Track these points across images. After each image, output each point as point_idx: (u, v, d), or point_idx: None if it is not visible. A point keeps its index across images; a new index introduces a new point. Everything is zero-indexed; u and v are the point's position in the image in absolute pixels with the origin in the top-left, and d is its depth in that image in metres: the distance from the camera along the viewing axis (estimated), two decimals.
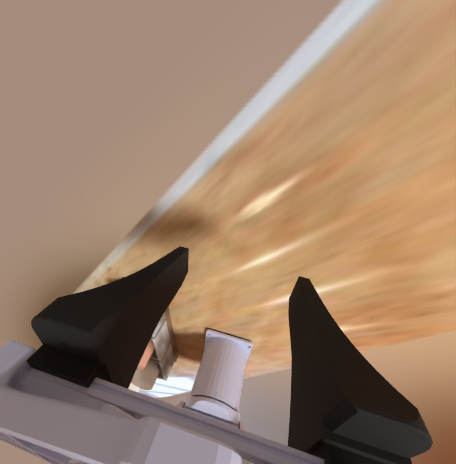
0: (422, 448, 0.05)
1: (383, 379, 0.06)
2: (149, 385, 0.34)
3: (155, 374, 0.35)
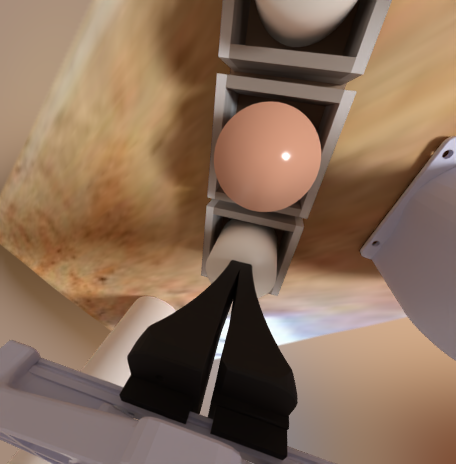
0: (291, 405, 0.06)
1: (275, 347, 0.07)
2: (269, 279, 0.12)
3: (276, 258, 0.13)
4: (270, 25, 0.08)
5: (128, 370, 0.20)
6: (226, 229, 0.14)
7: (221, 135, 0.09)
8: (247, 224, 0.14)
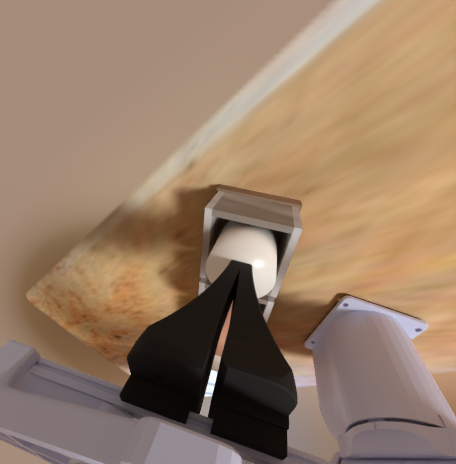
0: (291, 405, 0.06)
1: (275, 347, 0.07)
2: None
3: None
4: None
5: None
6: None
7: None
8: None
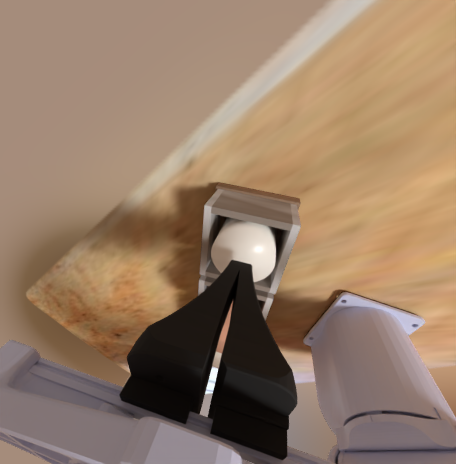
0: (290, 405, 0.06)
1: (275, 347, 0.07)
2: None
3: None
4: None
5: None
6: None
7: None
8: None
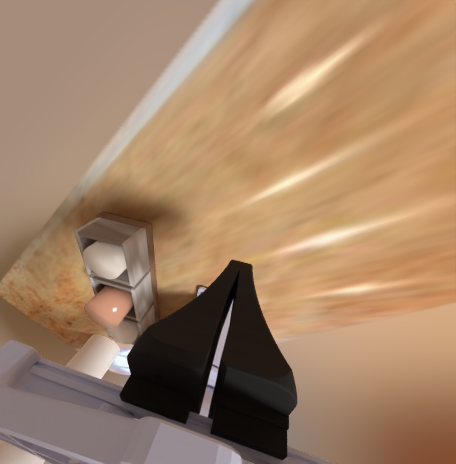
0: (290, 405, 0.06)
1: (275, 347, 0.07)
2: (131, 337, 0.30)
3: None
4: None
5: None
6: None
7: (85, 307, 0.24)
8: None
